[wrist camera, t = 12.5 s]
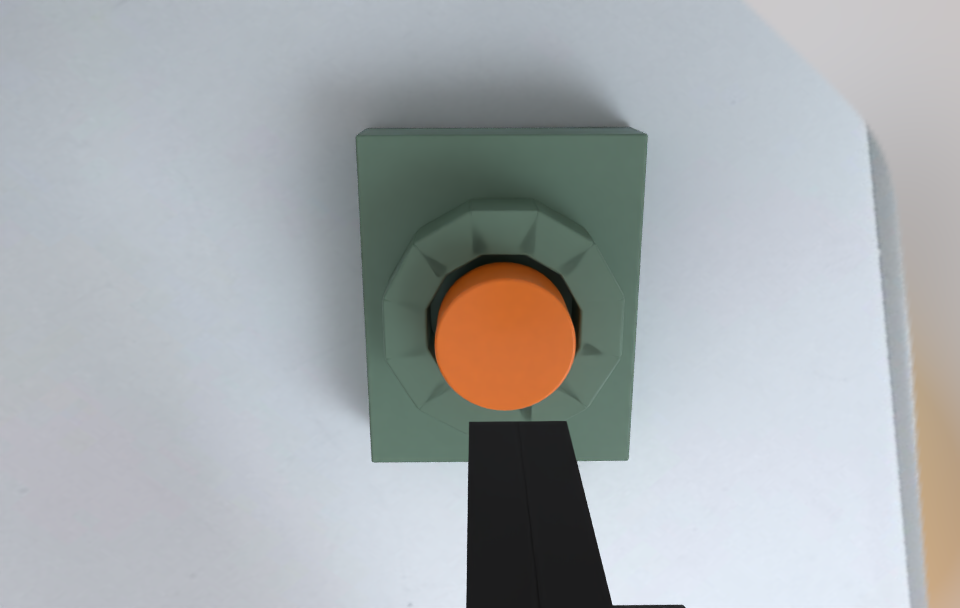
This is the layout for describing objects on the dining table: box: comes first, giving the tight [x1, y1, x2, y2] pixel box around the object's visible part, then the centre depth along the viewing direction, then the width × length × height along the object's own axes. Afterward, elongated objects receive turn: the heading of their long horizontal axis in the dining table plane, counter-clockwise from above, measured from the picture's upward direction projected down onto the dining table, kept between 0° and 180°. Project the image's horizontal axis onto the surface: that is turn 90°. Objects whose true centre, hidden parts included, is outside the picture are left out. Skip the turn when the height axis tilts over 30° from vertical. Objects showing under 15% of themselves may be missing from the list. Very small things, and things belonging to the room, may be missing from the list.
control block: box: [356, 127, 648, 462], centre depth 23 cm, size 10×8×4 cm
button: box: [435, 262, 576, 411], centre depth 21 cm, size 4×4×2 cm
